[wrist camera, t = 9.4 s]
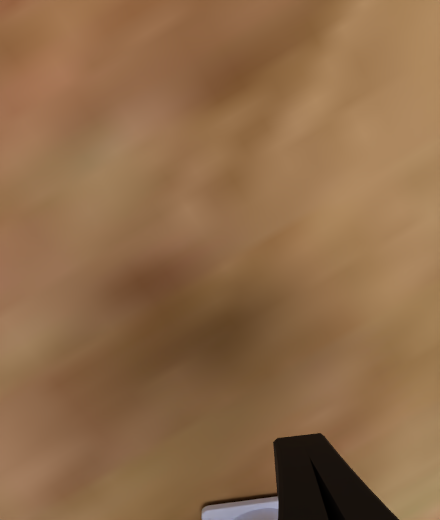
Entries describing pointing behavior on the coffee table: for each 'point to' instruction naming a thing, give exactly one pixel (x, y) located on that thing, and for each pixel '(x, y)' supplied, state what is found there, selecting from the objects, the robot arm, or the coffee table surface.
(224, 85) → the coffee table surface
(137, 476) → the coffee table surface
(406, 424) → the coffee table surface
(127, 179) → the coffee table surface
